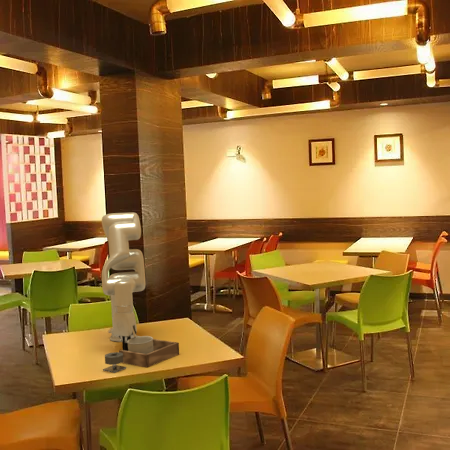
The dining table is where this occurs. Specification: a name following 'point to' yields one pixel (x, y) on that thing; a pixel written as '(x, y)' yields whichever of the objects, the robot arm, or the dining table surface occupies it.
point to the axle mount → (114, 368)
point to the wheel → (113, 358)
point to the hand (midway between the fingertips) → (126, 350)
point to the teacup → (141, 344)
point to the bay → (152, 354)
